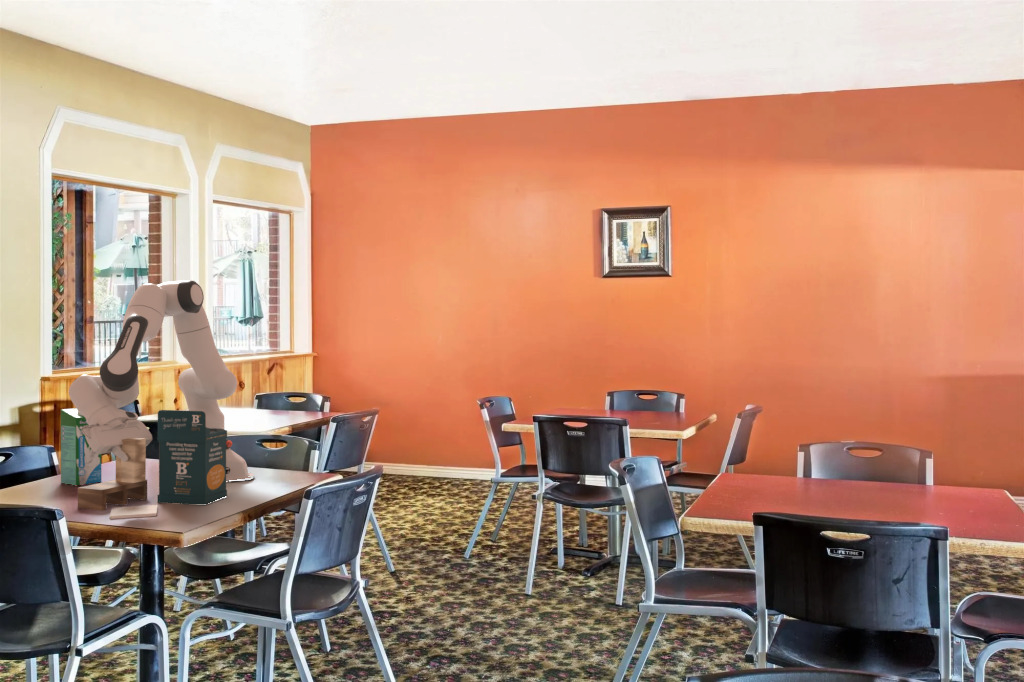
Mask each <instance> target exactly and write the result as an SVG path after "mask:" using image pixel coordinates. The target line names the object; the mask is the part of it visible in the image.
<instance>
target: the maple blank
mask: <svg viewBox="0 0 1024 682" xmlns="http://www.w3.org/2000/svg"><path fill="white" fill-rule="evenodd" d="M121 440H122V442H123V445H121V450H122V451H123V452H124V453H128V454H129V456H130V457H131V459H130V460H129V461H127V462H123V461H122V460H121V482H127V483H136V482H141V481H146V480H147V478H146V475H147V474H146V472H147V471H146V465H147V462H146V459H147V455H146V454H147V453H146V451H147V446H146V439H145V438H128V439H121Z"/></svg>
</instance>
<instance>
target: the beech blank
mask: <svg viewBox="0 0 1024 682" xmlns="http://www.w3.org/2000/svg"><path fill="white" fill-rule="evenodd" d="M115 480H116V481H117V482H121V458H119V457H117V456H115Z"/></svg>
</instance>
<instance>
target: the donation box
mask: <svg viewBox="0 0 1024 682" xmlns="http://www.w3.org/2000/svg"><path fill="white" fill-rule="evenodd" d="M226 439H228V430H227V429H225V428H224V429H217V428H207V427H206V414H205V412H203V411H189V410H178V409H177V410H176V409H175V410H173V409H160V410H158V411H157V442H158V494H157V504H172V503H180V504H179V505H189V504H208V503H210V502H213V501H215V500H217V499H220V498H222V497H225V496H227V497H228V490H227V483H226ZM181 503H182V504H181ZM208 505H209V504H208Z"/></svg>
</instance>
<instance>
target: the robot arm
mask: <svg viewBox="0 0 1024 682" xmlns="http://www.w3.org/2000/svg"><path fill="white" fill-rule="evenodd" d="M203 291H204V290H203V289H202V287H201V286H200V284H199V283H197V282H196V281H195V280H192V279H191V280H190V279H183V280H174V281H173V280H172V281H165V282H162V283H159V284H155V283H143V284H141V285H139V286H138V287H137V288H136V290H135V291H134V293H133V295H132V297H131V299H130V300H129V302H128V305H127V308H126V311H125V313H124V317H123V320H122V321H123V322H122V328H121V329H122V330H121V332H120V335H119V337H118V340H117V342H116V344H115V347H114V349H113V351H112V352H111V353H110V354H109V356H108V357H106V358H105V359H104V361H102V363H101V365H100V367H99V375H90V374H87V373H85V374H82V375H80V376H78V377H77V378H75V379H74V380H73V381H72V382H71V384H70V386H69V388H68V396H69V398H70V400H71V402H72V404H73V405H74V406H75V408H77V410H78V411H79V412H80V414H82V415H83V416H84V417H85V418H86V420H87V423H88V424H89V425H86V426H84V428H83V429H82V432H83V433H84V435H85V437H86V440H87V442H88V444H89V446H90V448H91V449H92V451H93V452H94V453H96V454H101V455H104V454H109V453H112V455H114V456H115V457H116V456H117V457H119V458H121V460H122V461H123V462H127V461H129V460H130V459H131V457H130V456H129V454H128V453H124V452H123V451H122V450H121V445H123V442H122V440H121V439H128V438H145V439H146V447H147V446H148V445H149V444H150V443H151V442H152V441H153V434H152V433H151V432H150V430H149V428H148V427H147V426H146V425H145V423H143V422H142V421H141V420H139V416H138V414H137V413H136V412H132V411H127V410H124V409H121V408H124V407H127V406H129V405H132V404H133V403H135V401H136V400H137V399H138V396H139V394H140V385H139V366H138V360H137V358H138V354H139V351H140V349H141V346H142V343H143V342H146V343H147V342H149V341H152V340H154V339H156V337H157V335H158V334H159V332H160V329H161V327H162V326H163V321H164V319H165V317H166V318H169V317H172V319H173V325H174V330H175V334H176V338H177V341H178V345H179V348H180V353H181V355H182V356H183V358H184V359H186V361H187V362H188V364H189V365H190V367H189V368H186V369H184V370H183V371H181V373H180V374H179V377H178V384H177V385H178V387H179V390H180V391H181V392H182V395H183V396H184V397H185V401H186V405H187V409H188V411H203V412H205V414H206V427H207V428H217V429H224V430H225V415H224V414H223V412H222V411H221V409H220V407H219V404H218V400H224V399H228V398H229V397H231V396H232V395H234V394H235V392H236V390H237V387H238V379H237V377H236V374H235V373H233V372H232V370H230V369H229V368H228V367H227V365H226V363H225V362H224V360H223V357H222V356H221V354H220V353H219V351H218V348H217V346H216V343H215V340H214V337H213V332H212V329H211V325H210V322H209V317H208V316H207V312H206V311H205V308H204V306H203V303H204V292H203ZM232 446H233V442H232V440H229V439H228V438H227V439H226V481H229V480H237V479H245V478H251V477H248V476H253V475H254V476H255V474H254V473H253V474H252V472H250V473H248V472H249V470H248V465H247V462H246V459H244V457H242V456H241V455H239V454H238V453H236V452H235V451H233V449H231V447H232Z"/></svg>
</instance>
